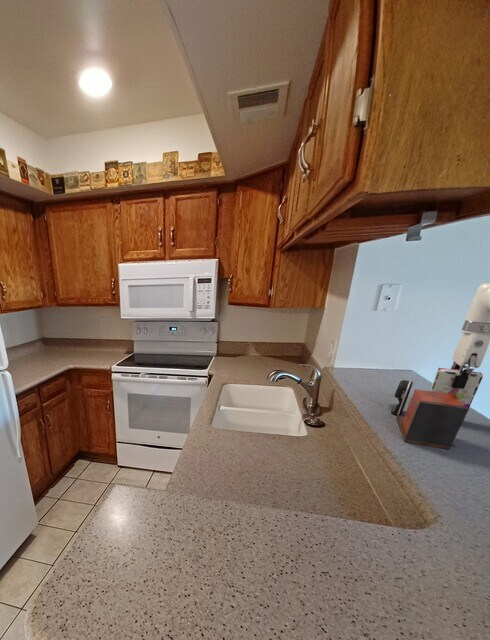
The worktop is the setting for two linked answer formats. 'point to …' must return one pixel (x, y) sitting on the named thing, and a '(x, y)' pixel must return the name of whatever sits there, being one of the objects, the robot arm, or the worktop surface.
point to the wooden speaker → (432, 419)
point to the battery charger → (402, 396)
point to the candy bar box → (465, 395)
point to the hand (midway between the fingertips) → (454, 384)
